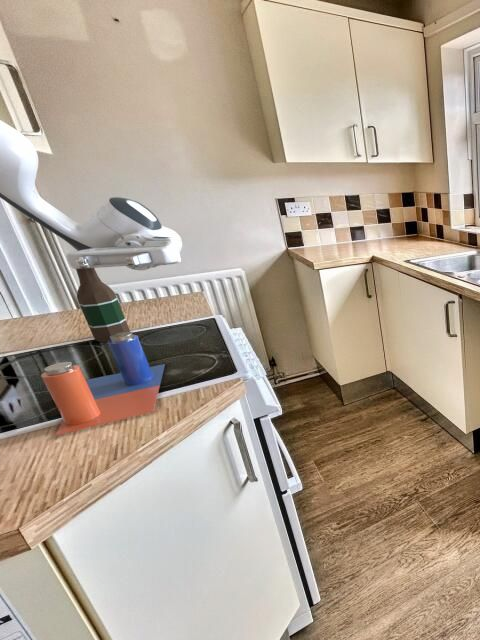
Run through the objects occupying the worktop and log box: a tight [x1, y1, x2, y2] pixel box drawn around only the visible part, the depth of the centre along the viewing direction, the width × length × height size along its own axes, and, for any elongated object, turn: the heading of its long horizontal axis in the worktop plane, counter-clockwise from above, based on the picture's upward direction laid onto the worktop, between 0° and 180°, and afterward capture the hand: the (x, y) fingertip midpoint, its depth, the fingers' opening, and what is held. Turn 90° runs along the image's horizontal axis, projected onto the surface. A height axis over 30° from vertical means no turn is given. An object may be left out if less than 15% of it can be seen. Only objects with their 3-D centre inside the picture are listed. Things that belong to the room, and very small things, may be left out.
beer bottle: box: [75, 268, 131, 343], centre depth 115 cm, size 8×8×24 cm
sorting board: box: [54, 363, 166, 437], centre depth 88 cm, size 14×26×1 cm, turn 33°
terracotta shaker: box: [40, 361, 101, 425], centre depth 78 cm, size 5×5×11 cm
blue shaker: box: [107, 331, 154, 385], centre depth 92 cm, size 5×5×11 cm
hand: (105, 263), depth 93 cm, fingers open, 8 cm apart
